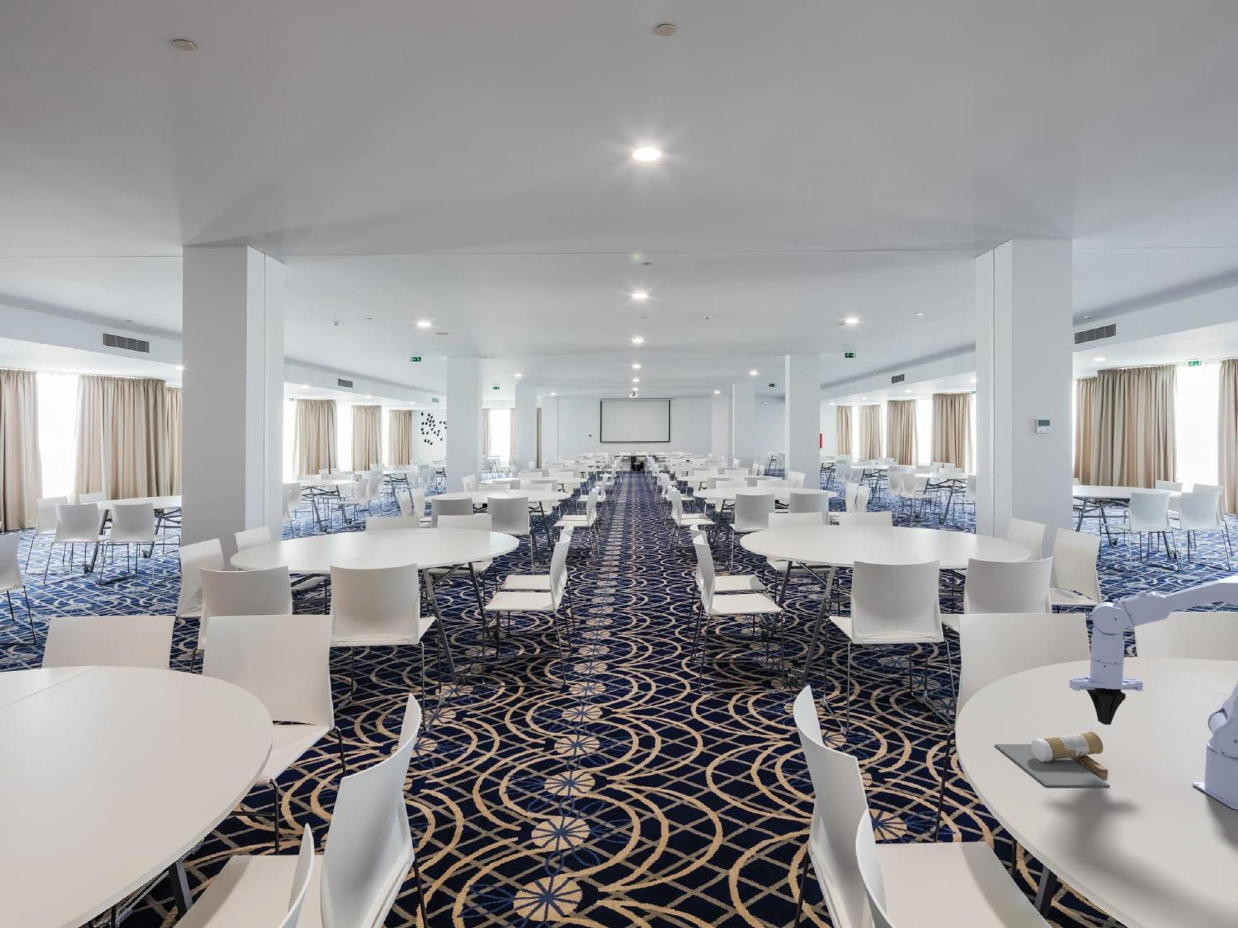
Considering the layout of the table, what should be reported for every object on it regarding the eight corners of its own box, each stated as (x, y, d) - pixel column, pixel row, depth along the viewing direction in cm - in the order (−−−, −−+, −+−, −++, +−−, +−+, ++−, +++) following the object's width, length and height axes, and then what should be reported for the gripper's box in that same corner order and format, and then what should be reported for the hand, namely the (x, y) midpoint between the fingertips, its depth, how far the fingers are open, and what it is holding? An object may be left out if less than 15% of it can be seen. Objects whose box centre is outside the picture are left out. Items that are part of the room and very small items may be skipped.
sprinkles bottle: (1097, 756, 148) (1038, 765, 147) (1085, 735, 151) (1027, 743, 150) (1108, 749, 145) (1047, 758, 144) (1095, 727, 148) (1036, 736, 147)
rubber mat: (1109, 786, 137) (1109, 784, 137) (1045, 786, 137) (1045, 784, 137) (1051, 746, 155) (1051, 744, 155) (994, 745, 155) (994, 743, 155)
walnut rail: (1107, 776, 141) (1107, 769, 141) (1100, 776, 141) (1100, 769, 141) (1074, 754, 151) (1074, 747, 151) (1067, 754, 151) (1068, 747, 151)
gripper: (1125, 653, 150) (1123, 715, 150) (1060, 653, 149) (1058, 715, 150) (1151, 664, 143) (1149, 728, 143) (1083, 664, 142) (1081, 728, 143)
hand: (1104, 722), depth 146 cm, fingers closed
